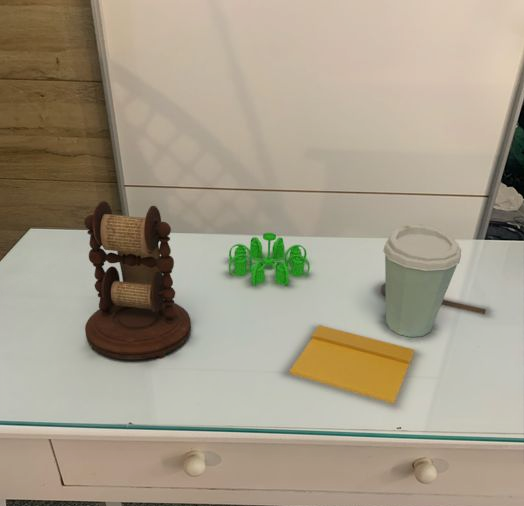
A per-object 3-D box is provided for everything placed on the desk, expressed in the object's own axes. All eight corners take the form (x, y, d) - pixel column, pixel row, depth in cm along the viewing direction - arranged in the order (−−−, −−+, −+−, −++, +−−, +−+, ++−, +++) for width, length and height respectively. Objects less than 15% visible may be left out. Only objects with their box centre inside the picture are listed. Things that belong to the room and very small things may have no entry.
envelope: (412, 357, 79) (414, 347, 78) (392, 407, 70) (395, 396, 68) (319, 333, 83) (320, 323, 82) (289, 377, 74) (290, 366, 73)
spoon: (486, 307, 91) (488, 300, 90) (482, 324, 87) (484, 318, 86) (384, 284, 97) (385, 278, 96) (375, 299, 92) (376, 293, 91)
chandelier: (295, 299, 91) (298, 260, 87) (212, 281, 95) (211, 244, 91) (319, 262, 103) (323, 226, 99) (244, 248, 107) (245, 213, 103)
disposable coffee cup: (456, 341, 82) (482, 247, 74) (396, 355, 79) (415, 259, 70) (414, 307, 90) (433, 219, 82) (357, 318, 87) (371, 228, 78)
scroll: (202, 317, 86) (197, 190, 74) (174, 374, 74) (163, 233, 62) (111, 307, 88) (93, 181, 76) (69, 360, 76) (40, 221, 64)
